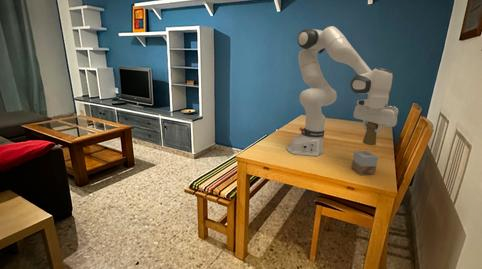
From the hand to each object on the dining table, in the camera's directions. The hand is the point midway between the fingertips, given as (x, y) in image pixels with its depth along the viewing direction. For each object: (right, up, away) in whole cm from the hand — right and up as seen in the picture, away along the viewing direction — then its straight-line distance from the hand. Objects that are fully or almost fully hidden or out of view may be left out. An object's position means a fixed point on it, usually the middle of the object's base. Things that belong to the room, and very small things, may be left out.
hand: (371, 131), depth 123 cm
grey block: (-1, -16, +5) cm, 17 cm away
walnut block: (-1, -21, +7) cm, 22 cm away
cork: (0, -6, +2) cm, 7 cm away
